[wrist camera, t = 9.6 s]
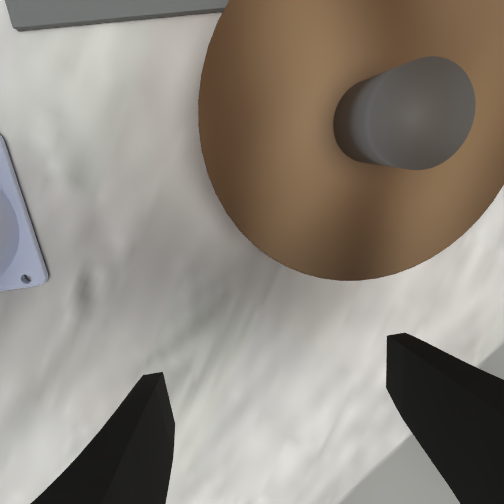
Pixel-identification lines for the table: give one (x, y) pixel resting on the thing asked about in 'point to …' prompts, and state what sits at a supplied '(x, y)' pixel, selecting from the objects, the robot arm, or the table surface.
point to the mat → (100, 11)
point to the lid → (354, 127)
